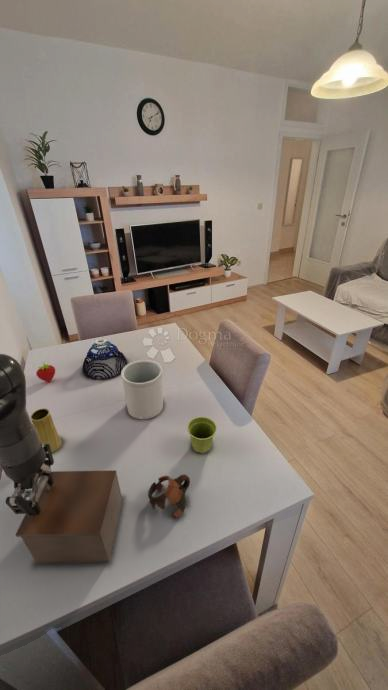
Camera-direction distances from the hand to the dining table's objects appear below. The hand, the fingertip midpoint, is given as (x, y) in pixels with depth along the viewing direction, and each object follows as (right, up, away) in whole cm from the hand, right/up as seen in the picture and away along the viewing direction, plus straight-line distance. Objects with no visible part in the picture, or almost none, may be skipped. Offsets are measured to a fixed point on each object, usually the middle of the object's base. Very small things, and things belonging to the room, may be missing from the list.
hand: (42, 497), depth 63 cm
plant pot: (+37, +1, +29) cm, 47 cm away
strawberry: (-29, +18, +59) cm, 69 cm away
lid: (+6, -1, +1) cm, 6 cm away
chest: (+7, -12, +7) cm, 15 cm away
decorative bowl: (-8, +24, +69) cm, 74 cm away
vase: (-13, +1, +29) cm, 32 cm away
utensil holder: (+16, +10, +45) cm, 49 cm away
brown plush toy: (+29, -8, +13) cm, 33 cm away
